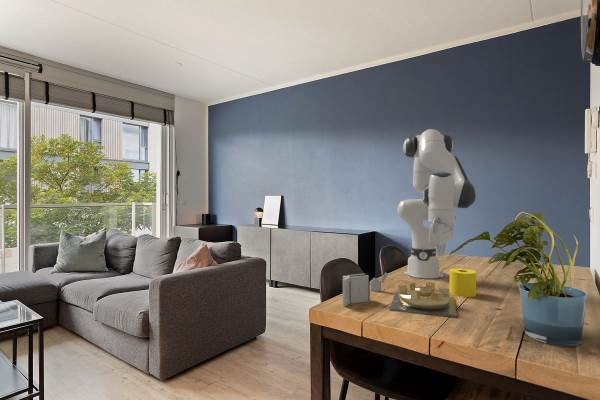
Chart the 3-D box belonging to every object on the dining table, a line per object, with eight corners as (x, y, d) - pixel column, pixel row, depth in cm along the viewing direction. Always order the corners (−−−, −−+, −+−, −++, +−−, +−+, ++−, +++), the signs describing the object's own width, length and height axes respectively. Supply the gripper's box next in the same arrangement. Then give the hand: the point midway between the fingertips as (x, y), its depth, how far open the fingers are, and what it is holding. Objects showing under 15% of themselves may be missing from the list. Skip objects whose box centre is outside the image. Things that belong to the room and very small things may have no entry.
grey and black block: (344, 307, 128) (344, 279, 127) (335, 303, 132) (334, 277, 132) (371, 300, 135) (371, 274, 135) (361, 297, 140) (361, 272, 140)
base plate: (395, 293, 144) (395, 291, 144) (453, 299, 136) (453, 296, 136) (389, 310, 124) (389, 307, 124) (457, 317, 116) (457, 315, 116)
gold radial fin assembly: (443, 296, 137) (443, 281, 137) (454, 310, 120) (454, 294, 120) (396, 293, 141) (396, 279, 141) (400, 308, 123) (400, 292, 123)
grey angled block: (370, 290, 149) (370, 272, 149) (371, 289, 151) (371, 271, 151) (387, 292, 147) (387, 273, 146) (388, 291, 148) (388, 272, 148)
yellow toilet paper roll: (479, 297, 138) (479, 274, 138) (452, 296, 140) (452, 273, 140) (472, 290, 148) (472, 268, 148) (447, 289, 150) (447, 268, 150)
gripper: (443, 219, 115) (443, 261, 115) (456, 215, 131) (456, 252, 132) (424, 218, 118) (424, 259, 119) (439, 215, 135) (438, 250, 135)
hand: (441, 255), depth 125 cm, fingers closed
